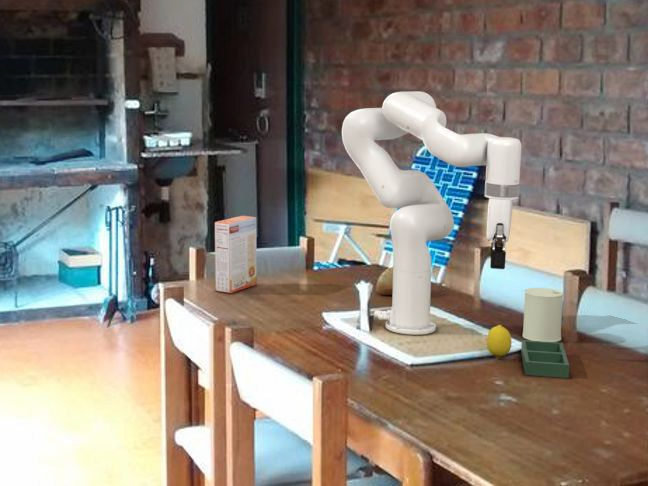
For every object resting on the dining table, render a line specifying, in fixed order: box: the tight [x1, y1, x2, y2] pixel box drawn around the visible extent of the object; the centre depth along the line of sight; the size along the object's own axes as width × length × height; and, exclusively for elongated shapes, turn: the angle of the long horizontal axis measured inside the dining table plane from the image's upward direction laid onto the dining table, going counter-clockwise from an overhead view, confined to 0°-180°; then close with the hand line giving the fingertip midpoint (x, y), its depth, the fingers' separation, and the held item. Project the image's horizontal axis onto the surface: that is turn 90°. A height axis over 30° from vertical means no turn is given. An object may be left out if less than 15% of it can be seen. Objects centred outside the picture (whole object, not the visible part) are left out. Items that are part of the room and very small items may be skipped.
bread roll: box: [375, 266, 393, 296], centre depth 295 cm, size 10×15×8 cm, turn 113°
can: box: [522, 287, 564, 343], centre depth 250 cm, size 9×9×12 cm
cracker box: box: [214, 215, 258, 294], centre depth 300 cm, size 14×6×21 cm, turn 144°
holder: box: [520, 339, 570, 379], centre depth 228 cm, size 9×17×3 cm, turn 167°
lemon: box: [485, 324, 512, 360], centre depth 232 cm, size 6×6×8 cm
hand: (497, 263), depth 235 cm, fingers open, 9 cm apart
